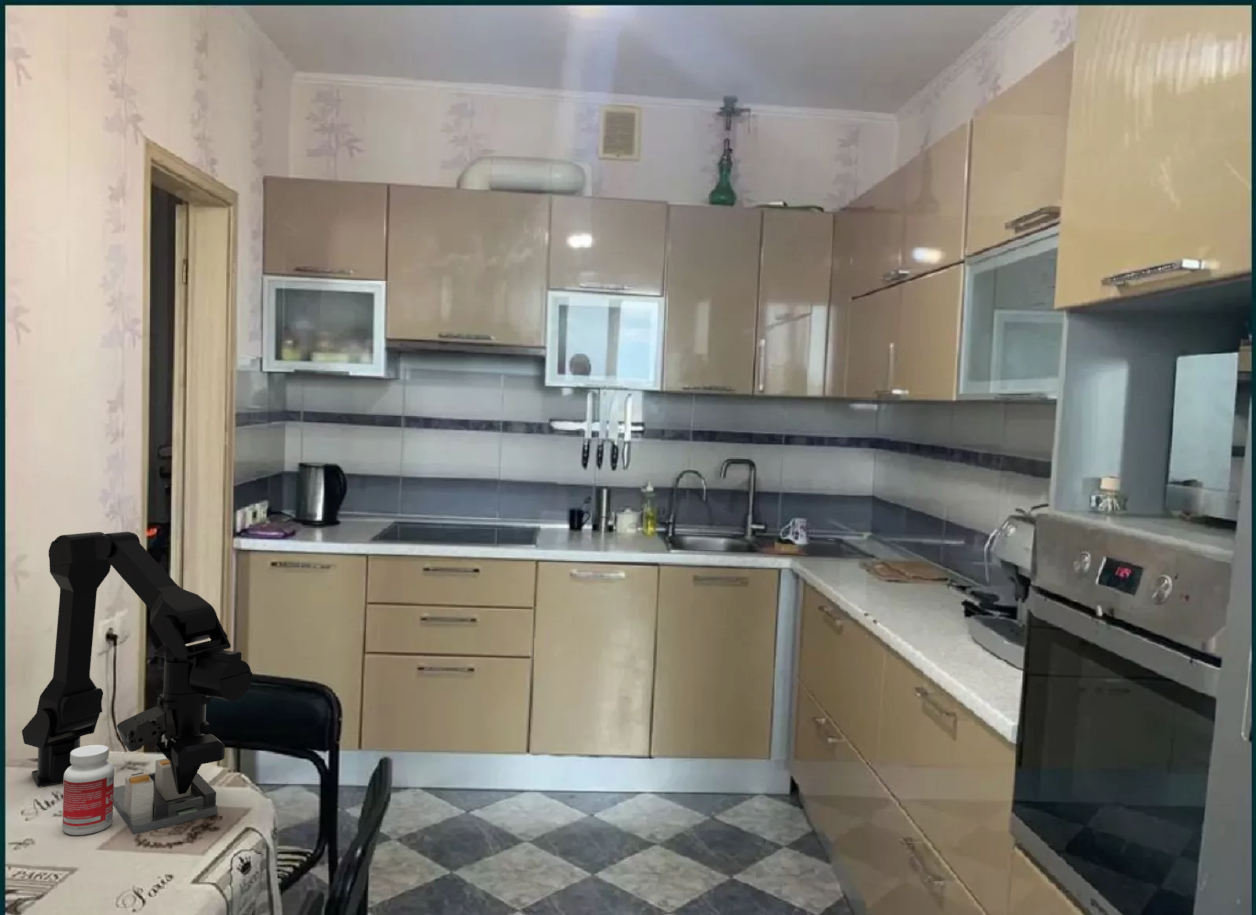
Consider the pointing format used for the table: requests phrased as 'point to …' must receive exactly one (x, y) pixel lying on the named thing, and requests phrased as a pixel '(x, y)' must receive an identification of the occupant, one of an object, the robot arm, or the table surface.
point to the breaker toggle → (167, 781)
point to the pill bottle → (88, 791)
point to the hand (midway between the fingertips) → (181, 792)
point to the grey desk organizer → (161, 803)
